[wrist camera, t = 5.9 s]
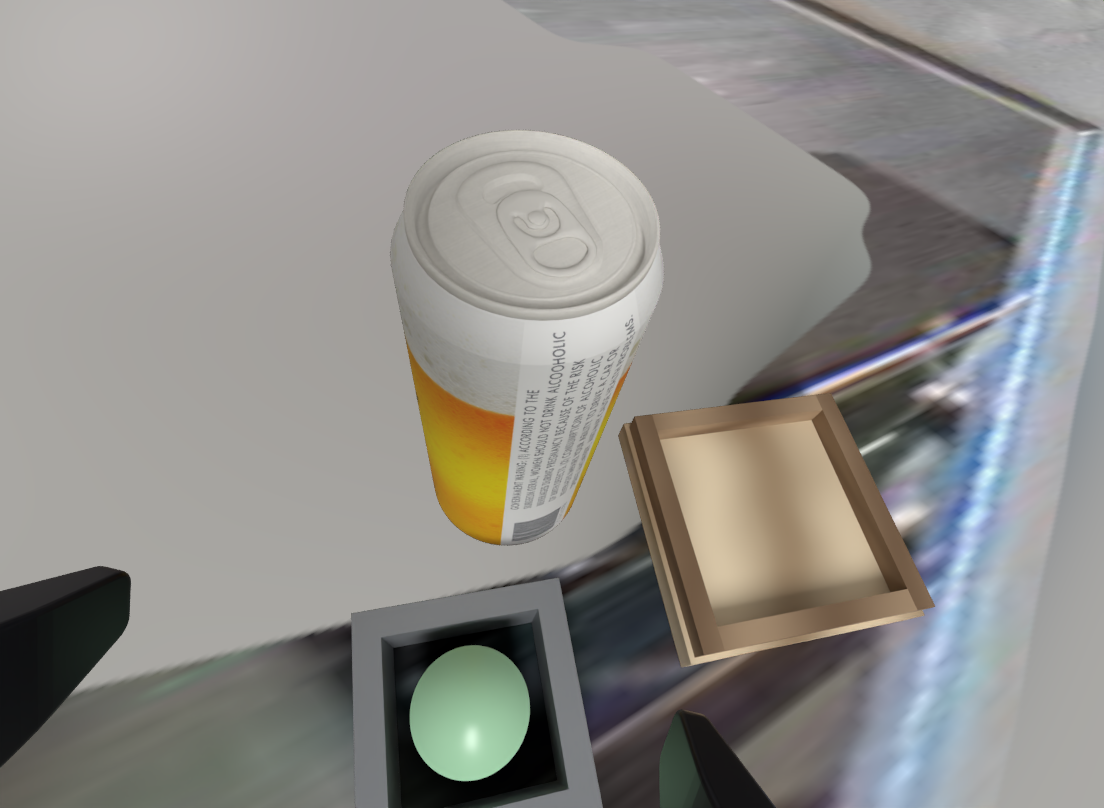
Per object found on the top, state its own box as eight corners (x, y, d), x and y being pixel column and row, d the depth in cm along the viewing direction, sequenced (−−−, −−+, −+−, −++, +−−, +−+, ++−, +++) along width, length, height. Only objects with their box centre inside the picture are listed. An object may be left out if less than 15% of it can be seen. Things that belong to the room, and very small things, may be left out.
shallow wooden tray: (680, 667, 22) (700, 662, 20) (618, 435, 26) (628, 413, 24) (905, 620, 23) (942, 610, 22) (808, 411, 28) (832, 388, 26)
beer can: (532, 400, 27) (581, 95, 14) (601, 508, 24) (738, 265, 11) (412, 454, 25) (336, 156, 12) (475, 578, 22) (467, 379, 9)
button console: (374, 859, 18) (356, 882, 15) (367, 627, 21) (351, 613, 18) (587, 805, 19) (604, 818, 16) (549, 594, 22) (558, 577, 20)
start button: (421, 786, 18) (414, 795, 16) (413, 664, 20) (405, 657, 17) (532, 760, 19) (539, 765, 16) (515, 644, 20) (520, 635, 18)
